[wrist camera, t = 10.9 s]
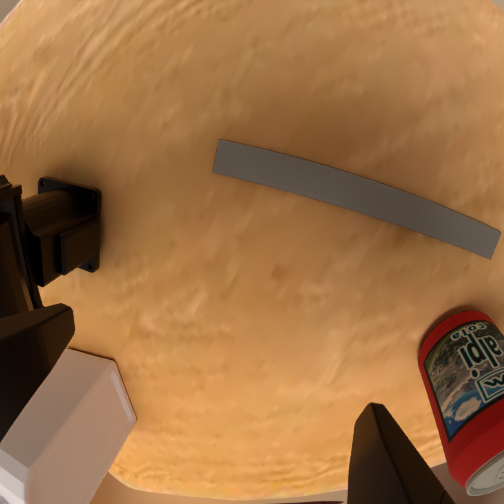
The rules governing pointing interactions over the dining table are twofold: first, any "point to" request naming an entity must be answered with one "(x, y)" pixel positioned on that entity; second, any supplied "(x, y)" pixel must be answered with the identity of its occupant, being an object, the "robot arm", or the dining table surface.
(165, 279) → the dining table surface
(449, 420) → the beverage can
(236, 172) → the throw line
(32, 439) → the soap bottle
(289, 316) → the dining table surface
